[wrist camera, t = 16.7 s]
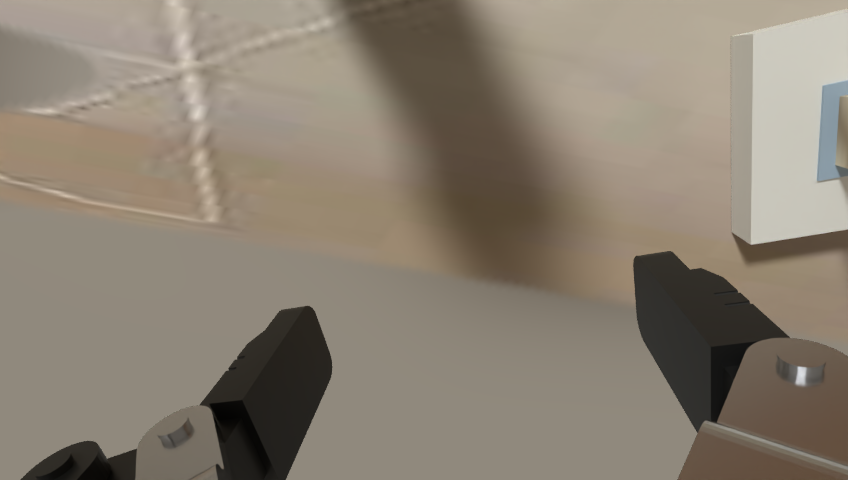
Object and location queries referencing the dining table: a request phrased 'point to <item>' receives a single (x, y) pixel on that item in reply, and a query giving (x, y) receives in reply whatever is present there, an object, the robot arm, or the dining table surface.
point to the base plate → (788, 129)
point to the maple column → (842, 133)
